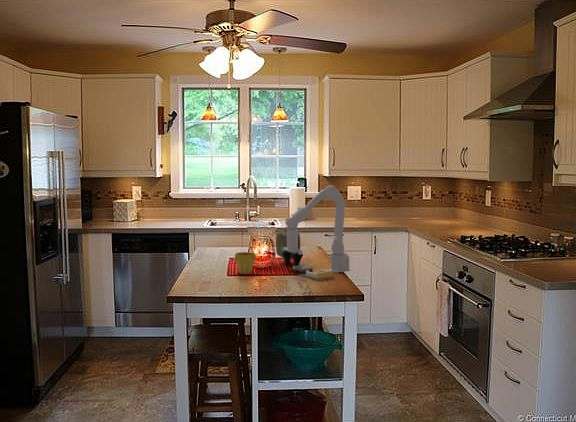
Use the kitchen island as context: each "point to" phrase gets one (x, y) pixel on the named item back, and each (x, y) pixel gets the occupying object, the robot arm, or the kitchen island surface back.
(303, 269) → the trolley
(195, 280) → the kitchen island surface
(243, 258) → the plant pot
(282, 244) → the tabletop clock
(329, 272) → the loading dock
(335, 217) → the robot arm
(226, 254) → the kitchen island surface
